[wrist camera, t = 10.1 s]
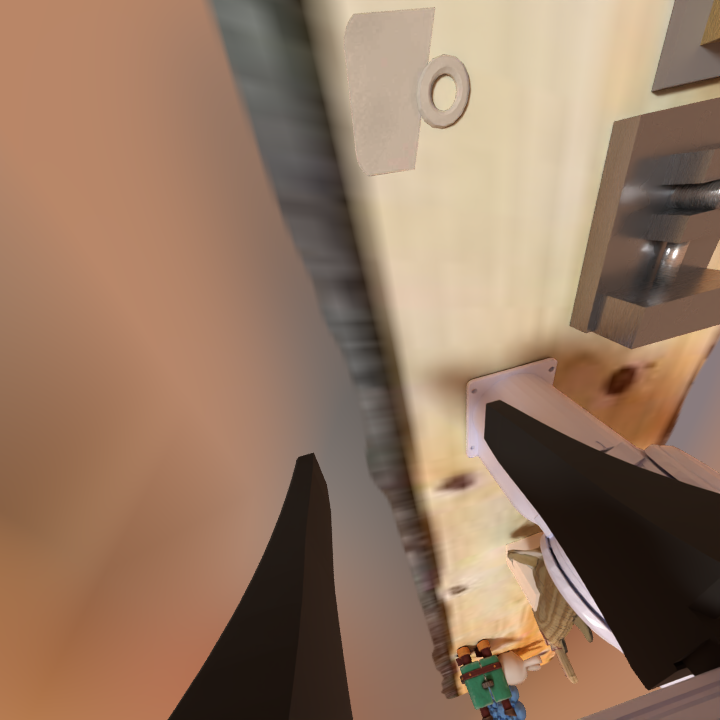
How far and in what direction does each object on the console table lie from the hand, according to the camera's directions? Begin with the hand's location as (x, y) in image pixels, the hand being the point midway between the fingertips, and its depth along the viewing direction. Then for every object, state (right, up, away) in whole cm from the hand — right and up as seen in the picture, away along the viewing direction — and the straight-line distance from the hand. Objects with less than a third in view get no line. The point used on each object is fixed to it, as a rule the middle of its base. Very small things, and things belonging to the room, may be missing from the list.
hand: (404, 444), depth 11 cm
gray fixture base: (+18, +13, +8) cm, 24 cm away
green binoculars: (+23, -61, +52) cm, 83 cm away
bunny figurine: (+34, -70, +59) cm, 98 cm away
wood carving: (+23, -26, +32) cm, 47 cm away
